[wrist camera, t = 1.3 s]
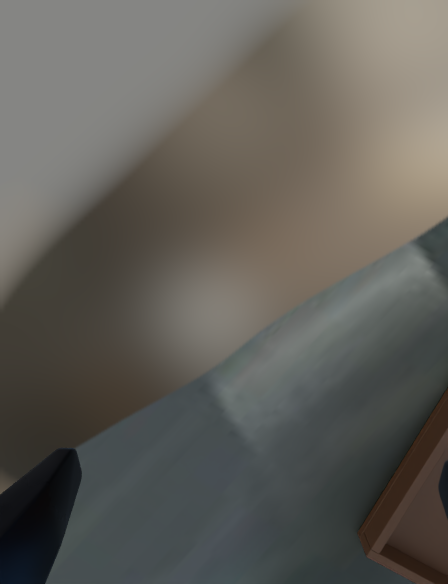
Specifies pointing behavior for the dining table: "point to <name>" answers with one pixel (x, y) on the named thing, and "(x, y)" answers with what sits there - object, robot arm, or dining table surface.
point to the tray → (414, 510)
